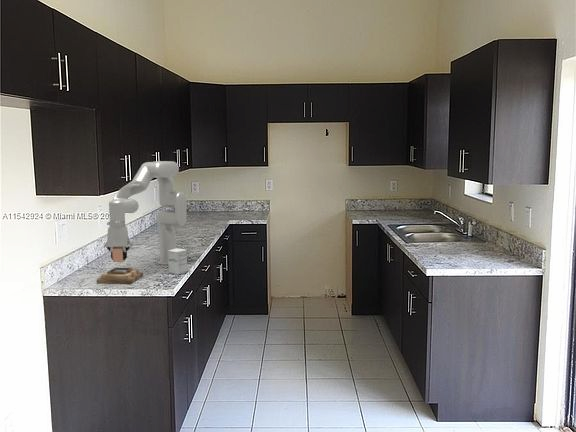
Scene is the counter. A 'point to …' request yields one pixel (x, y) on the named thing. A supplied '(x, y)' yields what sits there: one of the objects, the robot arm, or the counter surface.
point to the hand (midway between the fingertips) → (119, 259)
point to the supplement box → (177, 261)
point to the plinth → (109, 281)
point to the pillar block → (118, 254)
